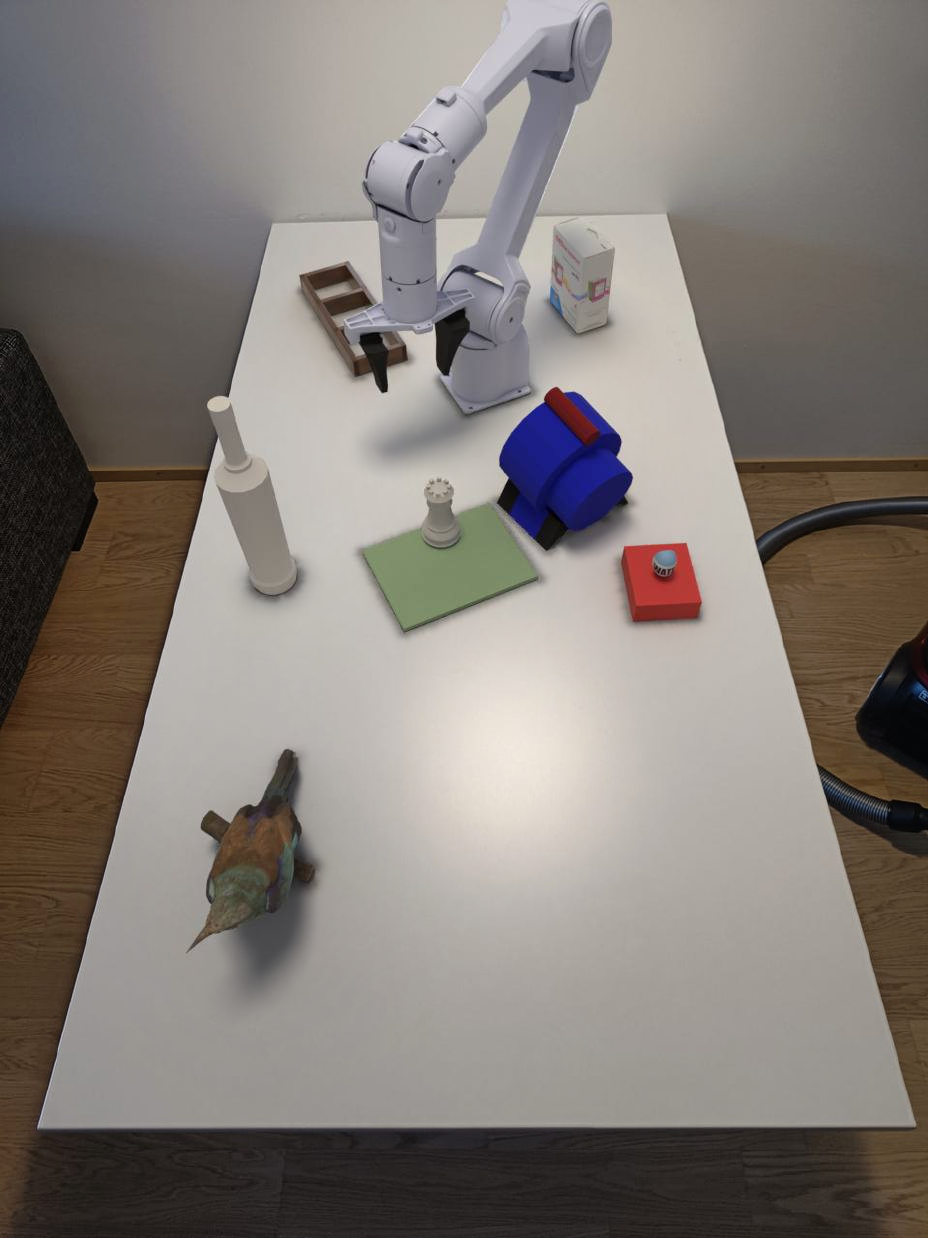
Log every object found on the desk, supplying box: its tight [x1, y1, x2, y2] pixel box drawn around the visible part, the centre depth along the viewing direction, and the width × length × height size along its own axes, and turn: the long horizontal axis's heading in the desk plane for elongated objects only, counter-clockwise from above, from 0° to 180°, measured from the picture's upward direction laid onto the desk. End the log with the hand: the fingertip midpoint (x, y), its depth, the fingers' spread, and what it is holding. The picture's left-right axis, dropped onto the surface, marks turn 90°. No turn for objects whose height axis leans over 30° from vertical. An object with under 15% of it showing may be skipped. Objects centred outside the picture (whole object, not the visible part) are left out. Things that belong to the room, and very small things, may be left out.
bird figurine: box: [185, 748, 315, 954], centre depth 75 cm, size 13×10×20 cm
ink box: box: [549, 215, 616, 334], centre depth 119 cm, size 9×5×12 cm, turn 25°
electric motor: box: [496, 386, 634, 551], centre depth 97 cm, size 12×12×15 cm
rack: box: [298, 260, 408, 378], centre depth 122 cm, size 8×21×2 cm, turn 25°
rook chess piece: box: [421, 476, 461, 547], centre depth 97 cm, size 4×4×8 cm
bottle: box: [206, 395, 298, 596], centre depth 87 cm, size 5×5×25 cm
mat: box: [361, 502, 539, 633], centre depth 98 cm, size 16×12×1 cm
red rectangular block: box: [620, 542, 703, 622], centre depth 93 cm, size 8×7×6 cm
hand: (412, 378), depth 101 cm, fingers open, 7 cm apart
